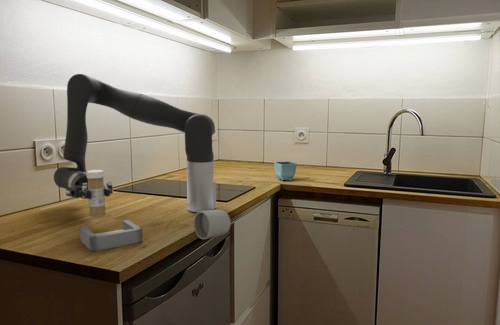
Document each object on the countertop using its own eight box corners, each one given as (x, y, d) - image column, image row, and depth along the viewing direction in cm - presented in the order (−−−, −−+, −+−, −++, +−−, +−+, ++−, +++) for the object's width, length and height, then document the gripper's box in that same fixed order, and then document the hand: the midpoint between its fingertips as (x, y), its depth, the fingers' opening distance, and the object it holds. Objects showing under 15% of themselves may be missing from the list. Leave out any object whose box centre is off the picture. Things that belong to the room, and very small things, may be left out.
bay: (128, 231, 111) (128, 219, 111) (142, 241, 103) (142, 228, 102) (80, 240, 103) (79, 227, 103) (91, 251, 95) (90, 238, 94)
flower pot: (296, 181, 193) (297, 163, 192) (280, 182, 190) (281, 164, 189) (288, 178, 201) (289, 161, 200) (273, 179, 198) (273, 161, 197)
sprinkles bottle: (101, 213, 116) (98, 168, 114) (108, 216, 113) (106, 170, 111) (86, 216, 113) (83, 170, 111) (93, 219, 110) (90, 172, 108)
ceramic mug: (232, 236, 108) (232, 209, 107) (209, 242, 103) (209, 214, 102) (209, 228, 116) (209, 203, 115) (186, 233, 110) (186, 207, 109)
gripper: (57, 175, 118) (71, 184, 105) (105, 170, 127) (123, 178, 114) (59, 199, 120) (73, 211, 106) (106, 193, 128) (124, 203, 115)
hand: (99, 194), depth 110 cm, fingers closed on sprinkles bottle, 4 cm apart
